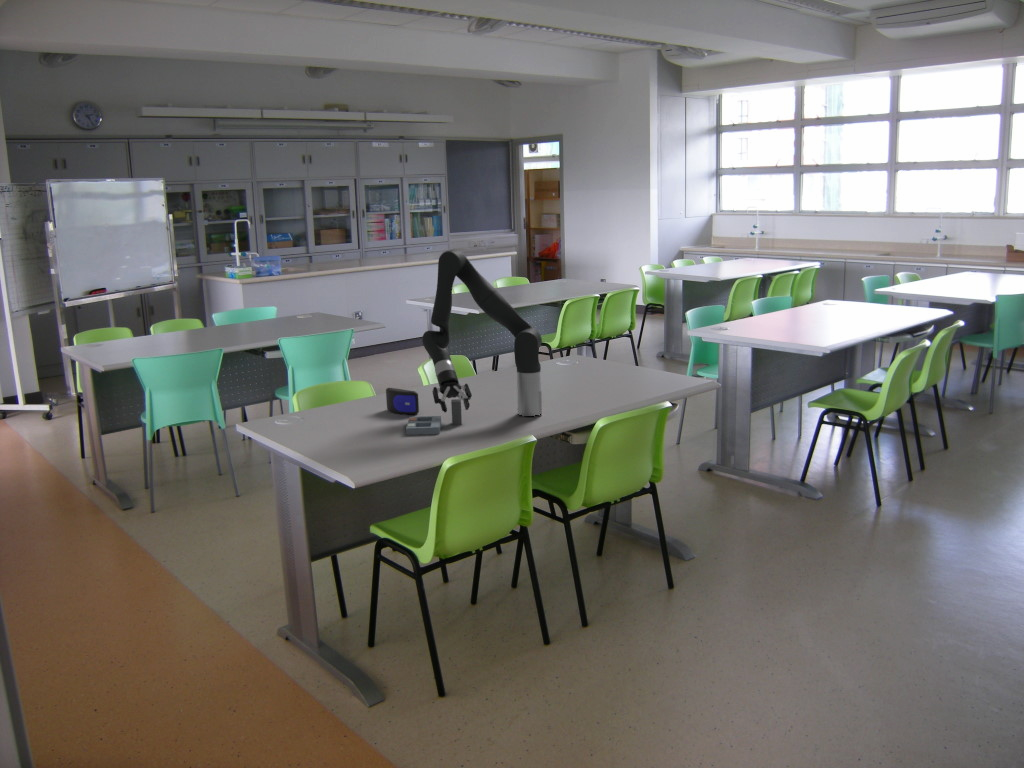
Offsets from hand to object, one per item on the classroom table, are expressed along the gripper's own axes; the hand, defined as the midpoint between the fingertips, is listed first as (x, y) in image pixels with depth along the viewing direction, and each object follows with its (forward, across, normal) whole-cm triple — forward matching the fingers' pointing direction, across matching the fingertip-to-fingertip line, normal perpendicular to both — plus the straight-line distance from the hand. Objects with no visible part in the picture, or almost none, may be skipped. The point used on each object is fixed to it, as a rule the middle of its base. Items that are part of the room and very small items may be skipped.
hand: (456, 410), depth 315 cm
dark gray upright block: (+4, 0, +4) cm, 5 cm away
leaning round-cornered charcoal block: (-15, -14, +23) cm, 31 cm away
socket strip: (+4, -13, +4) cm, 14 cm away
